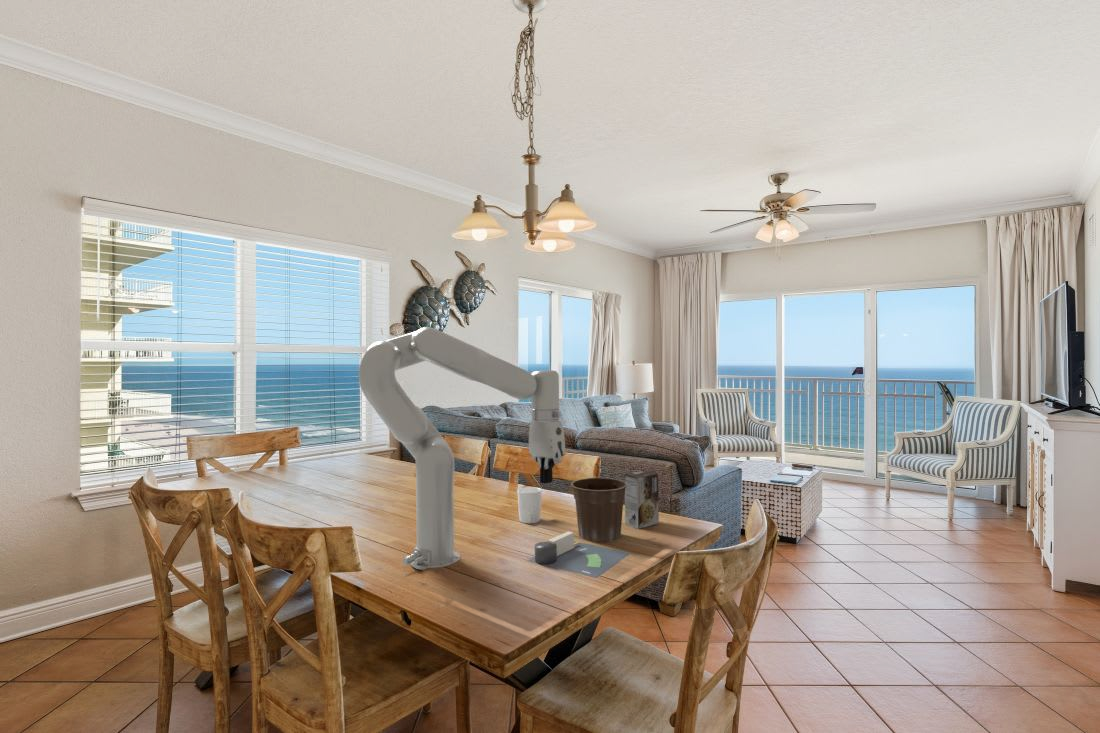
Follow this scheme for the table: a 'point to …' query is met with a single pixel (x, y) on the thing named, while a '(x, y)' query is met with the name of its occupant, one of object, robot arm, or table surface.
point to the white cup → (529, 504)
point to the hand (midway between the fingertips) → (546, 482)
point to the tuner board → (587, 559)
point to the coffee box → (641, 499)
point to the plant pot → (599, 508)
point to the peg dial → (554, 548)
